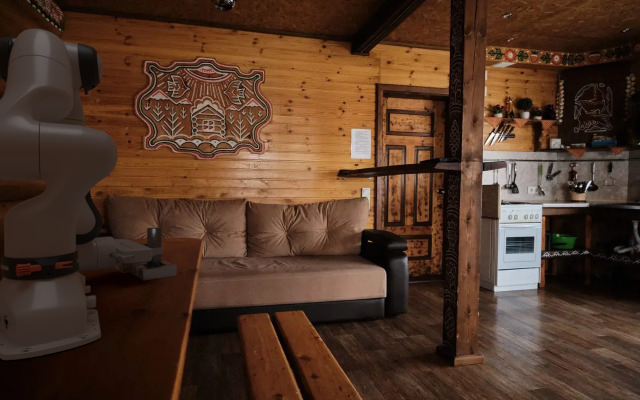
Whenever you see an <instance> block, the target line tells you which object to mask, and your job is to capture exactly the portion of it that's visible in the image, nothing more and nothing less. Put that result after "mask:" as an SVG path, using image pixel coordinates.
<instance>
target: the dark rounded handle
mask: <svg viewBox="0 0 640 400" xmlns="http://www.w3.org/2000/svg"><path fill="white" fill-rule="evenodd" d="M162 229H163V228H162V227H147V228H146V243H147V247H149V248H156V247H162V246H163V244H162V243H163V240H162V237H163V236H162V234H163V232H162ZM162 248H163V247H162ZM162 255H163V254H157V255H155V256H152V260H151V261H148V262H147V268H151V267H158V266H162V261H163V260H162V259H163V257H162Z"/></svg>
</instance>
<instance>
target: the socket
mask: <svg viewBox="0 0 640 400" xmlns="http://www.w3.org/2000/svg"><path fill="white" fill-rule="evenodd" d="M131 275H133V276H135V277H136V278H137V279H140V280H141V281H142V282H143V281H148V280H157V279H163V278H170V277H176V276H178V265H176V264H173V263H171V262H169V261H167V260H164V259H163V260H162V266H158V267H151V268H147V263H139V264H132V272H131Z"/></svg>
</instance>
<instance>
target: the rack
mask: <svg viewBox="0 0 640 400" xmlns="http://www.w3.org/2000/svg"><path fill="white" fill-rule="evenodd" d="M139 263H147V262H139ZM139 263H121V262H120V263H116V265H115V267H114V268H113V269H114V270H116V271H118V272H120V273H122V274H128V273H130V274H131V273H132V264H139Z"/></svg>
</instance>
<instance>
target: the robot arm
mask: <svg viewBox="0 0 640 400" xmlns="http://www.w3.org/2000/svg"><path fill="white" fill-rule="evenodd" d="M103 75H104V66H103V62H102V59H101V57H100V56H99V54H98V51H97V50H96V48H94V47H93V46H92V45H88V44H85V43H80V42H79V43H73V42H69V41H64V40H62V39H61V38H60V37H59V36H58V35H56V34H55V33H53V32H51V31H49V30H45V29H43V28H28V29H25V30H23V31H22V32H20V33H19V34H18V35H17V37H14V36H4V37H0V79H1V80H2V81H3V82H5V83H6V84H5V89H4V94H3V95H2V97H1V98H0V181H1V180H6V181H7V180H8V181H10V180H11V181H14V180H15V181H42V182H45V183H46V188H45V190H44V191H43V192H42V193H40V194H39V195H36V196H33V197H31V198H28V199H26V200H24V201H21V202H19V203H16V205H15V204H14V205H13V206H12V207H11V208H9V210H8V211H7V212H6V213H5V215H4V218H3V229H4V230H3V234H4V236H3V239H4V241H3V242H4V243H3V245H4V247H3V248H4V254H3V255H2V256H1V262H0V270H1V276H2V279H1V280H0V359H1V360H3V361H13V360H14V361H15V360H22V359H29V358H34V357H40V356H44V355H45V356H46V355H49V354H54V353H58V352H62V351H67V350H71V349H73V348H78V347H80V346H84V345H86V344H90V343H92V342H95V341H97V340H99V339H101V337H102V332H101V325H100V319H99V313H98V310H97V309H93V308H96V307H97V296H96V295H95V294H93V295H88V296H87V295H86V294H87V293H91V291H92V290H91V285H86V276H85V275H83V274H82V273H80V272H83V271H88V272H89V271H90V272H94V271H102V270H110V269H115V268H114V267H115V265H116V263H120V262H121V263H139V262H148V261H151V260H152V256H155V255H157V254H162V255H163V254H164V253H165V250H164V249H165V248H164V247H156V248H149V247H147V242H136V241H134V240H131V239H124V238H120V239H119V238H117V239H116V238H114V237H113V236H101V237H100V236H99V234H100V233H101V231H102V229H103V217H102V214H101V213H100V210H99V209H98V208H97V206H96V204H95V202H94V200H93V197H92V194H91V190H92V189H93V187H95V186H96V185H97V184H99V183H100V182H101V181H103V180H105V179H106V178H107V177H109V176H110V174H111V173H112V172H114V169H116V168H115V167H116V165H117V164H118V163H117V162H118V157H119V156H118V154H119V152H118V148H117V145H116V143H115V141H114V139H113V138H112V137H111V135H110V134H108V133H107V132H106V131H104V130H99V129H96V128H93V127H88V126H86V119H85V118H86V117H85V113H84V107H83V102H82V100H81V96H80V90H82V89H83V91H84V95H85V96H87V95H89V92H90V91H92V90H94V89H96V88H97V87H98V86H100V85H99V84H101V80H102V77H103ZM98 236H99V237H98Z"/></svg>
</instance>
